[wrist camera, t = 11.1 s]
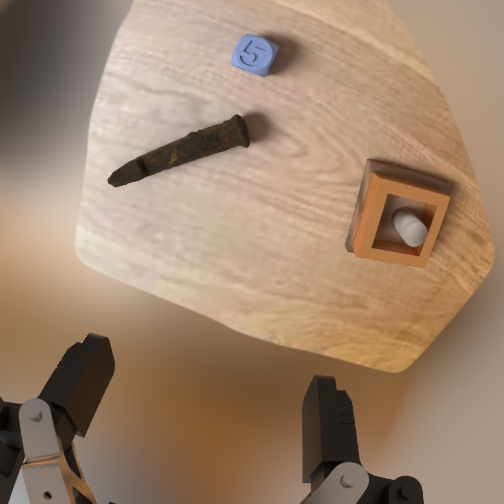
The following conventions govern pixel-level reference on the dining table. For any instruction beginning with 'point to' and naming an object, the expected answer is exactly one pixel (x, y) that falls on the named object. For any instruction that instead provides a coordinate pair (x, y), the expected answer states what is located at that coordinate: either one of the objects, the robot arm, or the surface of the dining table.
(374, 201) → the link
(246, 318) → the dining table surface
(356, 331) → the dining table surface
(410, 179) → the keeper
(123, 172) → the hand tool
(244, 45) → the decorative dice
